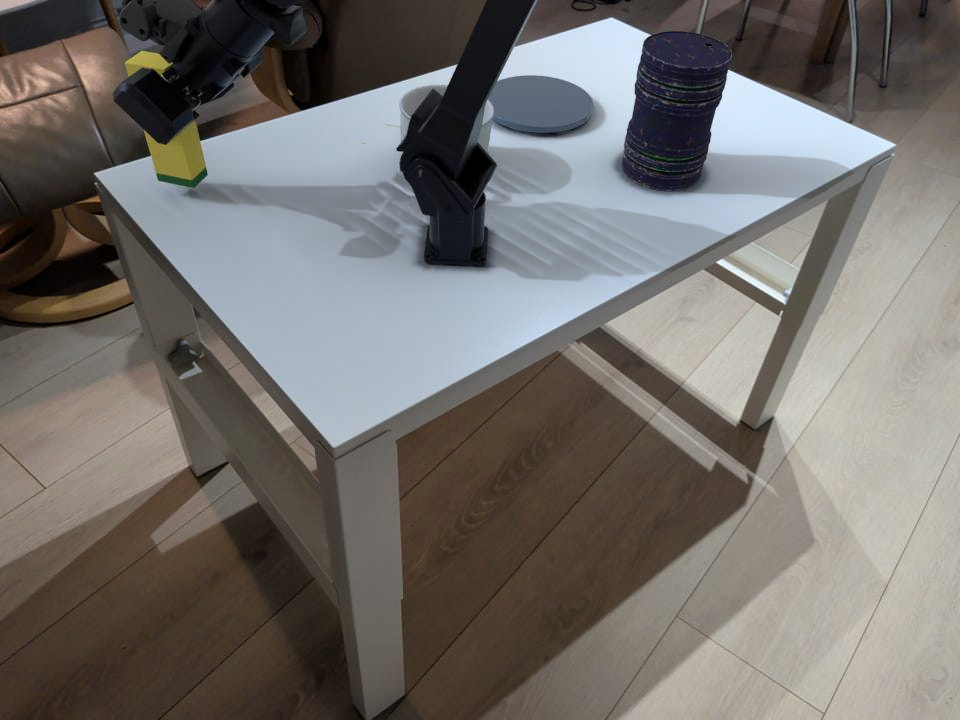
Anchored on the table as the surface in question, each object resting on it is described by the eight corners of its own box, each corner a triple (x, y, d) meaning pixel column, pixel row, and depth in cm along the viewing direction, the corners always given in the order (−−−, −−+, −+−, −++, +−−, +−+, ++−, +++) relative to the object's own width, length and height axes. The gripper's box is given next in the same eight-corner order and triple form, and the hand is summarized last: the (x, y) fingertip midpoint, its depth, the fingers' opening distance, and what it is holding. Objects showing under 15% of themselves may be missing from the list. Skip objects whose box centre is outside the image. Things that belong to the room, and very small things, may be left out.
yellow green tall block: (172, 167, 91) (141, 50, 81) (208, 174, 90) (181, 57, 80) (157, 181, 88) (124, 62, 79) (194, 188, 88) (164, 69, 78)
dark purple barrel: (649, 198, 93) (676, 74, 82) (604, 158, 99) (624, 37, 89) (718, 181, 96) (752, 59, 86) (671, 143, 102) (697, 25, 92)
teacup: (438, 134, 102) (437, 74, 96) (508, 162, 97) (512, 100, 92) (365, 180, 93) (360, 117, 88) (439, 213, 89) (438, 148, 83)
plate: (595, 140, 102) (597, 130, 101) (478, 134, 102) (479, 124, 101) (588, 87, 113) (589, 77, 112) (482, 82, 113) (483, 72, 112)
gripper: (216, -72, 79) (146, 25, 88) (100, -7, 66) (33, 98, 75) (300, 20, 83) (224, 103, 92) (205, 99, 70) (129, 186, 79)
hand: (157, 119), depth 85 cm, fingers closed on yellow green tall block, 3 cm apart
